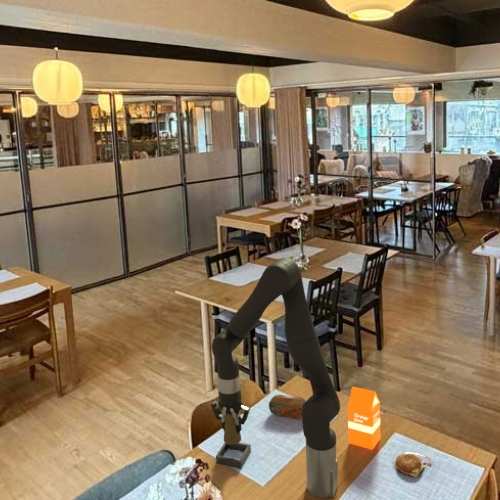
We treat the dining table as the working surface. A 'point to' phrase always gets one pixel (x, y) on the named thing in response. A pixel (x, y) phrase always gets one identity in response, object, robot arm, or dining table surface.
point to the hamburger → (410, 463)
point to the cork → (231, 430)
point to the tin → (287, 406)
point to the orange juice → (364, 418)
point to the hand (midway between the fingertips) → (232, 431)
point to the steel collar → (231, 461)
